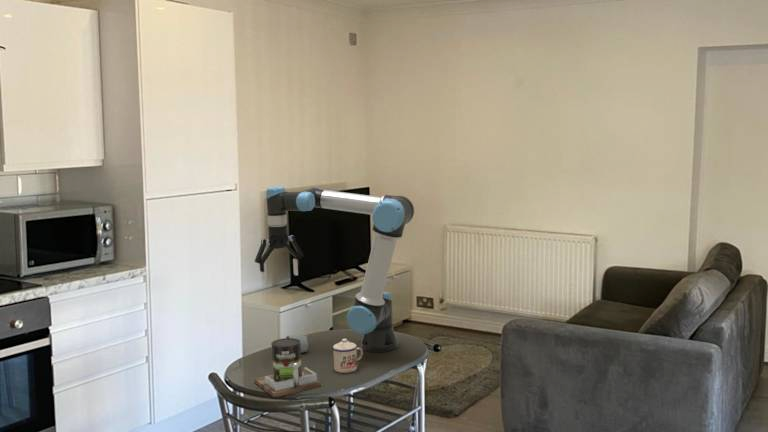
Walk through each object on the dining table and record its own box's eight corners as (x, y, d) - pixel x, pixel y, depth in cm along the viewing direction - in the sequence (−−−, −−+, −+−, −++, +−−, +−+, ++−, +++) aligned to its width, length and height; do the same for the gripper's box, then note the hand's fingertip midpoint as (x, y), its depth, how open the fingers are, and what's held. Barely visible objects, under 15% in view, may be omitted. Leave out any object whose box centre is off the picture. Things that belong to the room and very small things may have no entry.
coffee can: (301, 384, 270) (299, 345, 268) (272, 386, 270) (270, 347, 268) (303, 374, 280) (301, 337, 278) (274, 376, 280) (272, 338, 278)
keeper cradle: (265, 384, 272) (263, 360, 270) (306, 375, 280) (305, 352, 278) (276, 392, 263) (275, 368, 262) (318, 383, 271) (317, 359, 270)
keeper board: (254, 382, 278) (254, 378, 278) (300, 372, 287) (300, 368, 287) (273, 397, 263) (273, 393, 263) (321, 386, 272) (321, 382, 272)
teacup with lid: (341, 375, 283) (339, 344, 281) (329, 368, 290) (328, 338, 289) (369, 368, 289) (367, 338, 287) (357, 362, 297) (355, 332, 295)
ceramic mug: (310, 353, 310) (309, 334, 309) (291, 357, 306) (290, 338, 305) (301, 347, 319) (300, 329, 318) (282, 350, 315) (281, 332, 315)
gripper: (302, 221, 317) (304, 271, 320) (244, 227, 305) (248, 280, 308) (309, 222, 311) (312, 274, 314) (251, 229, 298) (254, 283, 301)
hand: (280, 277), depth 311 cm, fingers open, 13 cm apart
